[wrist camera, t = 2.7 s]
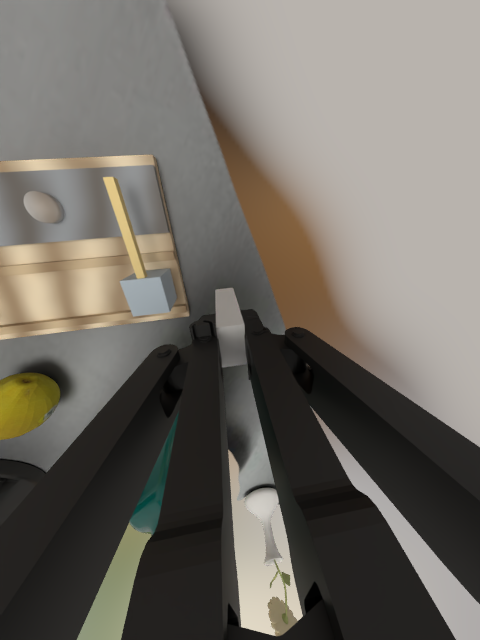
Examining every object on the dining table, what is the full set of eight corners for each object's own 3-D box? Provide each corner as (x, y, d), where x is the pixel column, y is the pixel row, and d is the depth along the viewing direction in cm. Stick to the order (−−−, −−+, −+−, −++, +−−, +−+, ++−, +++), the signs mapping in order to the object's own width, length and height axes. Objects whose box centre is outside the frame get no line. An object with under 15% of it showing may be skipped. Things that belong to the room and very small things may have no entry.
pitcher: (157, 400, 34) (86, 624, 15) (185, 373, 32) (145, 591, 13) (198, 418, 38) (185, 615, 19) (225, 395, 36) (241, 588, 17)
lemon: (55, 410, 32) (10, 461, 25) (1, 390, 29) (-68, 442, 22) (87, 373, 30) (48, 419, 22) (32, 348, 26) (-34, 391, 19)
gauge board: (-17, 338, 25) (-82, 369, 19) (-159, 173, 16) (-344, 145, 11) (190, 312, 27) (184, 333, 22) (155, 158, 19) (132, 130, 14)
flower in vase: (236, 493, 56) (253, 665, 34) (269, 479, 55) (307, 648, 33) (255, 505, 62) (279, 658, 40) (284, 492, 61) (326, 643, 39)
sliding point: (146, 301, 24) (133, 316, 20) (109, 189, 19) (79, 177, 14) (177, 297, 25) (169, 312, 20) (149, 186, 19) (131, 174, 15)
